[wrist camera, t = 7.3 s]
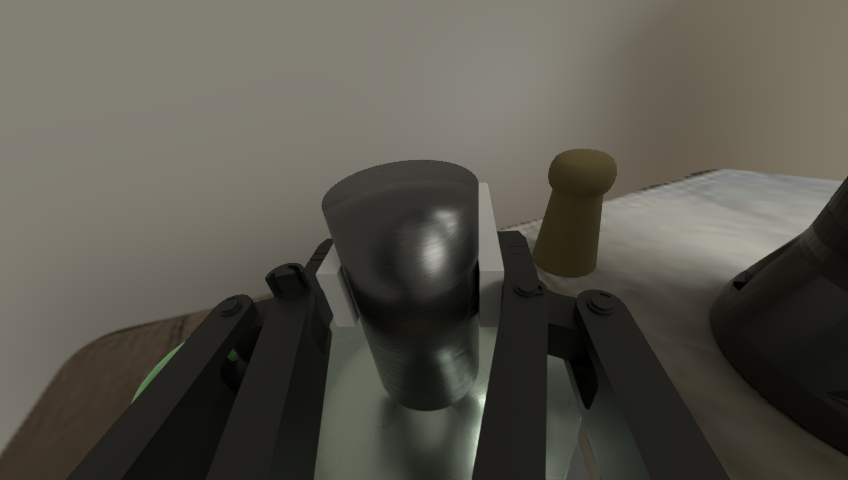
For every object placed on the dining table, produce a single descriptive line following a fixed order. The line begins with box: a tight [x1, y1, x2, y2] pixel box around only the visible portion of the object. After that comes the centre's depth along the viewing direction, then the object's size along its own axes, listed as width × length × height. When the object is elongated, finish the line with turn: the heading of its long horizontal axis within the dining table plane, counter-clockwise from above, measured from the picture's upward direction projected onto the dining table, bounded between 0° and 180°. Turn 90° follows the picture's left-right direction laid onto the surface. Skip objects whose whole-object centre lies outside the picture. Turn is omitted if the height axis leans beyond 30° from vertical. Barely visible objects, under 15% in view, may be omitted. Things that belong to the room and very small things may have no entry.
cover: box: [314, 160, 582, 480], centre depth 13 cm, size 13×13×15 cm
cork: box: [532, 149, 617, 277], centre depth 28 cm, size 6×6×11 cm
